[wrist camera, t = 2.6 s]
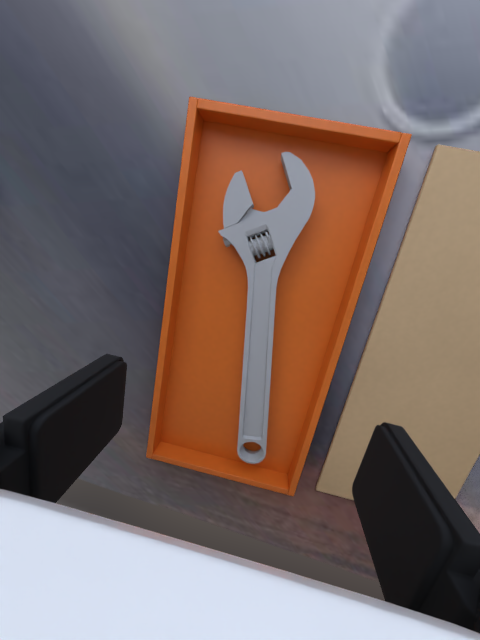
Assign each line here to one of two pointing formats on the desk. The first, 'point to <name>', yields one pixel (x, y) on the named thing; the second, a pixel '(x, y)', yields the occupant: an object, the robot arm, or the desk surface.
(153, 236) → the desk surface
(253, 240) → the adjustable wrench
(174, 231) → the tool tray
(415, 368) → the desk mat
